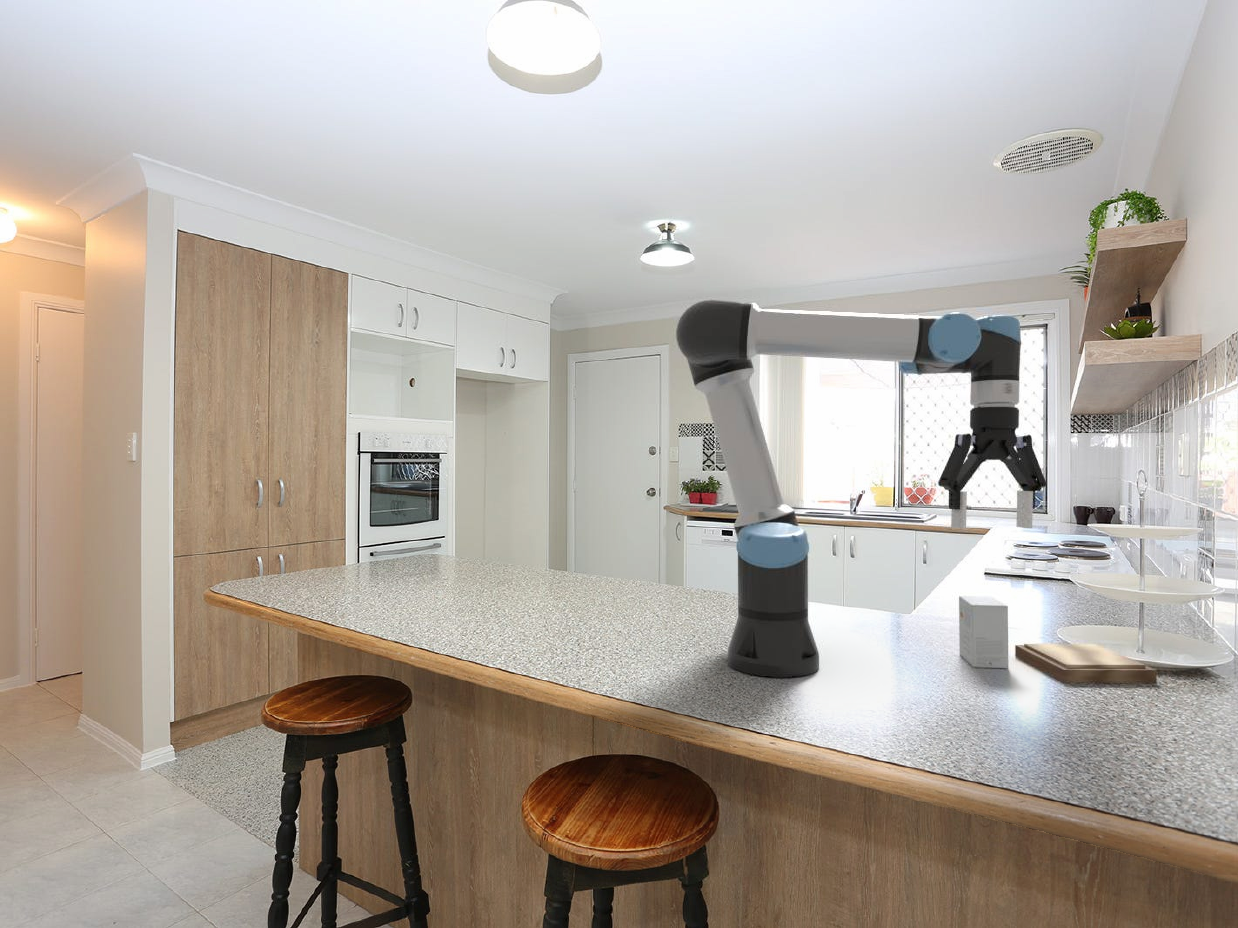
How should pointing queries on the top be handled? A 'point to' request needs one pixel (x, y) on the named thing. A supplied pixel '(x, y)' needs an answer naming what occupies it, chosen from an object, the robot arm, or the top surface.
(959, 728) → the top surface
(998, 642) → the small box
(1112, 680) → the stand
